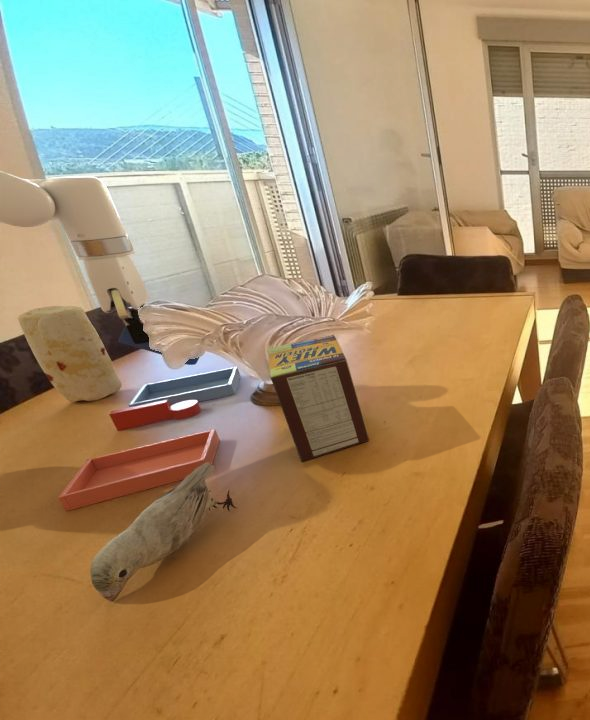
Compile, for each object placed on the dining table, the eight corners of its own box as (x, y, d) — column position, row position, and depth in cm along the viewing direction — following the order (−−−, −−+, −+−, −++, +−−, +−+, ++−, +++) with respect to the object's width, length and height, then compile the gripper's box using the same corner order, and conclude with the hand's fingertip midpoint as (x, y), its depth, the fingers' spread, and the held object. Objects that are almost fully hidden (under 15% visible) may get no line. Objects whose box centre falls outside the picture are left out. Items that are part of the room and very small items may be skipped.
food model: (127, 385, 107) (85, 299, 99) (124, 395, 102) (79, 306, 94) (64, 399, 101) (14, 309, 93) (58, 410, 96) (5, 316, 89)
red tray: (66, 511, 67) (57, 497, 66) (94, 471, 76) (87, 459, 75) (209, 472, 75) (204, 459, 74) (220, 440, 84) (215, 428, 83)
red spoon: (114, 434, 87) (106, 417, 85) (122, 424, 90) (114, 408, 89) (199, 415, 93) (192, 399, 91) (203, 406, 96) (196, 391, 95)
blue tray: (133, 415, 93) (128, 405, 92) (148, 394, 102) (143, 384, 101) (234, 394, 101) (230, 384, 100) (240, 376, 110) (237, 366, 109)
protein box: (356, 407, 93) (334, 333, 87) (370, 441, 82) (347, 358, 76) (293, 425, 88) (266, 347, 82) (299, 463, 76) (268, 376, 70)
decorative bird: (86, 603, 52) (53, 552, 50) (209, 506, 67) (188, 462, 64) (132, 604, 52) (102, 553, 49) (245, 506, 67) (226, 462, 64)
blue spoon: (114, 344, 91) (123, 328, 91) (122, 337, 94) (130, 322, 94) (194, 367, 98) (201, 352, 98) (198, 360, 102) (205, 346, 101)
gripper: (91, 245, 92) (133, 334, 99) (58, 257, 79) (108, 357, 87) (142, 240, 95) (179, 326, 102) (118, 251, 83) (162, 348, 90)
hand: (147, 340), depth 95 cm, fingers closed on blue spoon, 1 cm apart
